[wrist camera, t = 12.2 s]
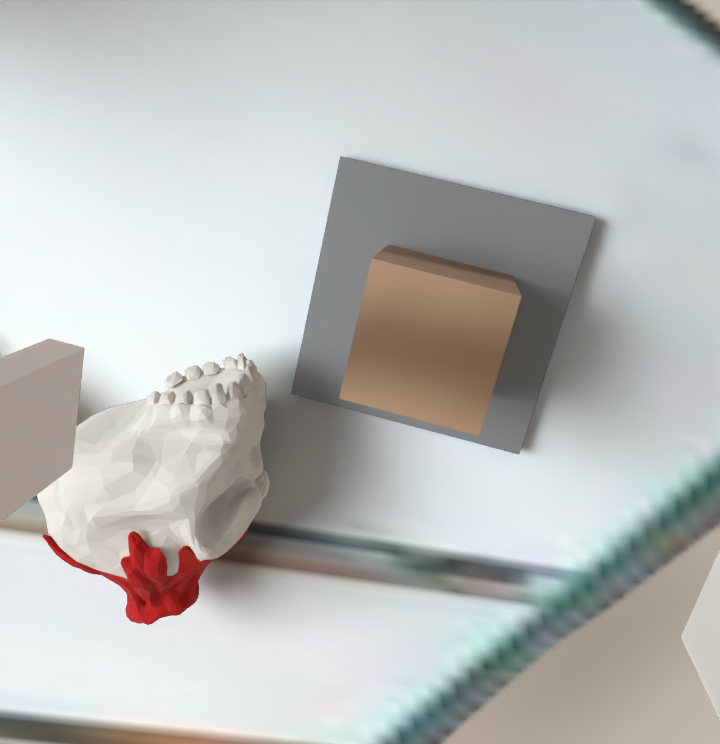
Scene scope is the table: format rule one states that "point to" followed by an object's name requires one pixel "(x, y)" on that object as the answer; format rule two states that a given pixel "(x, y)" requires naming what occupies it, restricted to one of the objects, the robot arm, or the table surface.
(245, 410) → the white two-tone toothed figurine
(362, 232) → the mat
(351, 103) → the table surface
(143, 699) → the table surface
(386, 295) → the walnut cube
